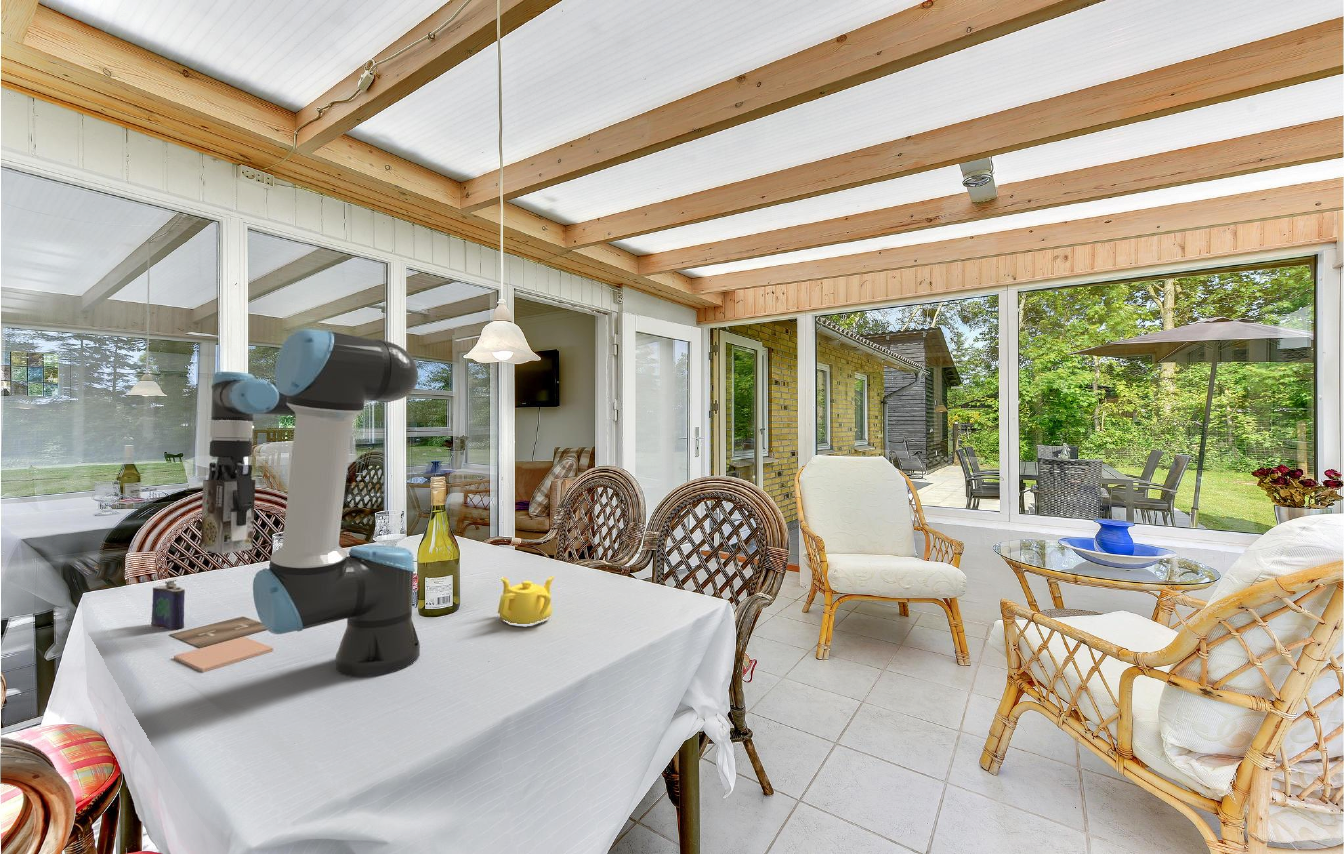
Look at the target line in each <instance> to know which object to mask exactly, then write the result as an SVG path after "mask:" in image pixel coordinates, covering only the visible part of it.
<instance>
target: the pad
mask: <svg viewBox="0 0 1344 854" xmlns="http://www.w3.org/2000/svg"><path fill="white" fill-rule="evenodd" d="M270 651H271V652H274V647H272V646H269V645H268V644H264V643H261V642H259V641H257V640H253V639H250V638H249V637H247V636H243V637H239V638H236V639H232V640H228V641H225V642H221V643H217V644H213V645H210V646H206V647H202V648H197V649H194V650H190V651H186V652H183V653H179V654H175V655H173V660H176V659H177V660H176V661H178V660H179V661H178V662H180V661H181V662H180V663H182V662H183V663H182V664H184V663H185V664H184V665H186V664H187V665H186V666H188V665H190V666H191V667H190V666H189V667H190V668H193V667H194V668H193V669H195V670H197V669H198V670H197V671H200V672H201V671H202V672H201V673H204V672H203V671H205V672H207V671H208V672H209V671H211V670H210V669H212V670H215V669H218V668H220V667H225V666H227V665H230V664H231V665H232V664H233V663H237V662H240V661H243V660H247V659H251V658H254V657H258V656H260V655H265V654H267V653H270Z"/></svg>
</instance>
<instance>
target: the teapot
mask: <svg viewBox="0 0 1344 854" xmlns="http://www.w3.org/2000/svg"><path fill="white" fill-rule="evenodd" d="M555 578H556V577H555V575H553V576H550V577H548V578H547V579H546V581H545V583H544V585H539V584H536V583H533V581H530V580H524V581H522V582H521V583H519V584H515V585H513V586H511V585H510V582H509V579H507V578H506V577H500V579H501V581H502V583H503V591H502V594H501V596H500V600H499V605H498V609H497V610H498V611H497V614H499V616H500V619H501V618H502V619H503V620H505V621H508V622H510V623H517V624H530V623H535V622H537V621H541V620H543V619H546V618H547V617H549V616H550V617H551V615H552V604H551V603H552V602H551V601H552V597H551V585H552V582H553V580H554V579H555ZM550 617H549V618H550ZM502 619H501V620H502ZM503 620H502V621H503Z"/></svg>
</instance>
